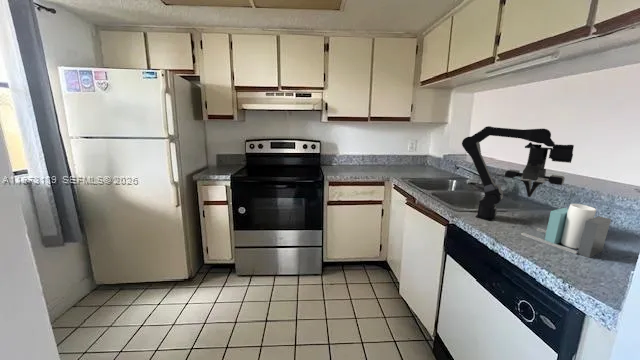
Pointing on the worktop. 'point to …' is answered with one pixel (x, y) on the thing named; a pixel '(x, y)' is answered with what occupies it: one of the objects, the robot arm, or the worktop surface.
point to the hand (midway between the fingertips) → (529, 196)
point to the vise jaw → (556, 225)
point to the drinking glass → (576, 224)
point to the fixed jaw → (585, 237)
